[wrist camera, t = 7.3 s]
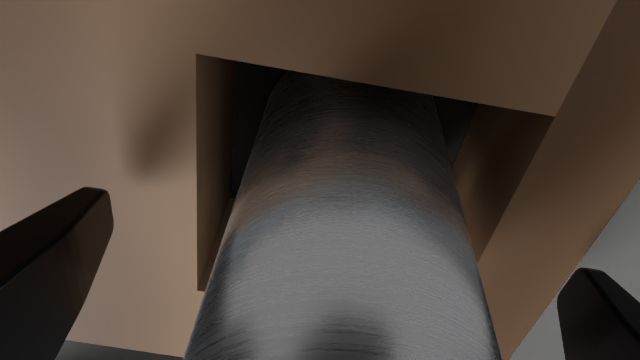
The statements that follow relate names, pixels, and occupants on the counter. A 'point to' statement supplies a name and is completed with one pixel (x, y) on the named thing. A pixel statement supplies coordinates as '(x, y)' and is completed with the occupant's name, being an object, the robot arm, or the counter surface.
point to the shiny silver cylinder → (345, 236)
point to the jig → (325, 60)
